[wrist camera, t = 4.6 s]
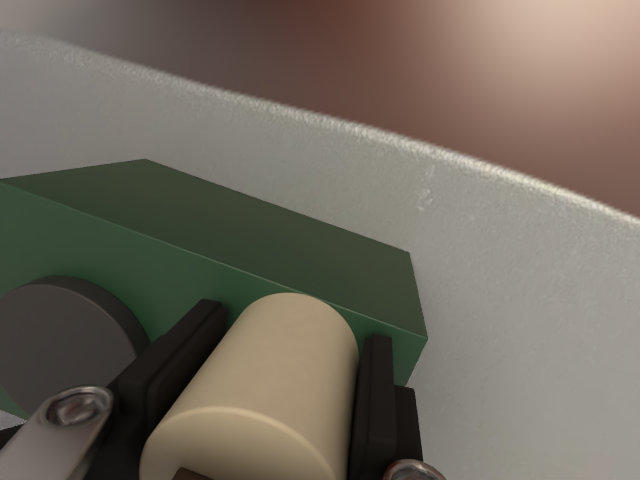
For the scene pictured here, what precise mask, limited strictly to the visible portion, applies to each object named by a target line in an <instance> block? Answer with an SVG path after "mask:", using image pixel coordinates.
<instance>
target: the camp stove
mask: <svg viewBox="0 0 640 480" xmlns="http://www.w3.org/2000/svg"><path fill="white" fill-rule="evenodd" d="M277 293H298V294H304V295H308V296H311V297H314V298H316V299H318V300H321V301H322V302H324V303H326V304H328V305H329V306H330V307H332V308H333V309H334V310H336V311H337V312H338V313H339V314H340V315H341V316H342V317H343V319H344V320H345V321H346V322H347V323H348V325H349V327H350V328H351V330H352V332H353V334H354V336H355V339H356V343H357V346H358V368H359V363H360V358H361V353H362V348H363V343H364V338H365V337H370V338H372V335H373V333H376V334H380V335H385V336H390V337H392V349H393V370H394V384H395V385H400V386H404V387H405V386H406V384H407V382H408V379H409V377H410V375H411V373H412V371H413V369H414V367H415V365H416V363H417V361H418V359H419V357H420V354H421V352H422V350H423V348H424V346H425V344H426V342H427V340H428V336H427V331H426V327H425V322H424V317H423V313H422V308H421V304H420V299H419V295H418V290H417V286H416V281H415V277H414V272H413V267H412V263H411V258H410V254H409V252H406V251H404V250H401V249H398V248H395V247H392V246H389V245H387V244H384V243H381V242H378V241H375V240H373V239H370V238H367V237H364V236H361V235H358V234H356V233H353V232H350V231H347V230H344V229H341V228H339V227H336V226H333V225H330V224H327V223H325V222H322V221H319V220H316V219H313V218H310V217H308V216H305V215H302V214H299V213H296V212H294V211H291V210H288V209H285V208H282V207H279V206H277V205H274V204H271V203H268V202H265V201H263V200H260V199H257V198H254V197H251V196H248V195H246V194H243V193H240V192H237V191H234V190H231V189H229V188H226V187H223V186H220V185H217V184H215V183H212V182H209V181H206V180H203V179H200V178H198V177H195V176H192V175H189V174H186V173H184V172H181V171H178V170H175V169H172V168H169V167H167V166H164V165H161V164H158V163H155V162H153V161H150V160H147V159H140V160H133V161H126V162H119V163H111V164H104V165H97V166H90V167H83V168H76V169H68V170H61V171H54V172H47V173H40V174H33V175H25V176H18V177H11V178H4V179H0V410H3V411H5V412H8V413H10V414H13V415H15V416H18V417H20V418H23V419H25V420H28V419H29V418H30V417H31V416H32V415H33V413H34V412H35V411H36V410H37V409H38V408H39V407H40V406H41V404H42V403H43V402H45V401H46V400H47V399H48V398H49V397H50V396H52V395H54V394H56V393H57V392H59V391H61V390H64V389H67V388H69V387H73V386H78V385H83V384H95V385H100V386H104V387H106V386H107V385H108V384H109V383H110V382H111V381H112V380H114V379H115V378H116V377H117V376H118V375H119V374H120V373H121V372H122V371H123V370H124V369H125V368H126V367H127V366H128V365H129V364H130V363H131V362H133V361H134V360H135V359H136V358H137V357H138V356H139V355H140V354H141V353H142V352H143V351H144V350H145V349H146V348H147V347H148V346H149V345H150V344H152V343H153V342H154V341H155V340H156V339H157V338H158V337H159V336H161V335H165V334H166V333H167V332H168V331H169V330H170V329H171V328H172V327H173V326H174V325H175V324H176V323H177V322H178V321H179V320H180V319H181V318H182V317H183V316H184V315H185V314H186V313H187V312H188V311H190V310H191V309H192V308H193V307H194V306H195V305H196V304H197V303H198V302H199V301H200V300H201V299H203V298H204V299H209V300H214V301H219V302H221V303H222V307H224V308H227V323H226V333H227V332H228V331H229V329H230V328H231V327H232V325H233V324H234V322H235V321H236V320H237V318H238V317H239V316H240V315H241V313H242V312H243V311H244V310H245V309H246V308H247V307H248V306H249V305H250V304H252V303H253V302H255V301H257V300H258V299H260V298H263V297H265V296H268V295H272V294H277ZM357 373H358V370H357Z"/></svg>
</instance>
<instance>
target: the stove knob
mask: <svg viewBox="0 0 640 480" xmlns="http://www.w3.org/2000/svg"><path fill="white" fill-rule="evenodd" d="M357 370H358V346H357V343H356V339H355V336H354V334H353V332H352V330H351V328H350V327H349V325H348V323H347V322H346V321H345V320H344V319H343V317H342V316H341V315H340V314H339V313H338V312H337V311H336V310H334V309H333V308H332V307H330V306H329V305H328V304H326V303H324V302H322V301H321V300H318V299H316V298H314V297H311V296H308V295H304V294H298V293H277V294H272V295H268V296H265V297H263V298H260V299H258V300H257V301H255V302H253V303H252V304H250V305H249V306H248V307H247V308H246V309H245V310H244V311H243V312H242V313H241V315H240V316H239V317H238V318H237V320H236V321H235V322H234V324H233V325H232V327H231V328H230V329H229V331H228V332H227V333H226V335H225V336H224V337H223V339H222V340H221V341H220V343H219V344H218V345H217V347H216V348H215V349H214V351H213V352H212V353H211V355H210V356H209V357H208V359H207V360H206V361H205V363H204V364H203V365H202V367H201V368H200V369H199V371H198V372H197V373H196V375H195V376H194V377H193V379H192V380H191V381H190V383H189V384H188V385H187V387H186V388H185V389H184V391H183V392H182V393H181V395H180V396H179V397H178V399H177V400H176V401H175V403H174V404H173V405H172V407H171V408H170V410H169V411H168V412H167V414H166V415H165V416H164V418H163V419H162V420H161V422H160V423H159V424H158V426H157V427H156V428H155V430H154V431H153V432H152V434H151V435H150V436H149V438H148V440H147V442H146V444H145V446H144V448H143V451H142V455H141V459H140V466H139V480H347V473H348V462H349V452H350V442H351V432H352V421H353V411H354V401H355V391H356V381H357Z"/></svg>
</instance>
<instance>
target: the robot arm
mask: <svg viewBox="0 0 640 480" xmlns="http://www.w3.org/2000/svg"><path fill="white" fill-rule="evenodd" d="M226 323H227V308H224V307H222V303H221V302H219V301H214V300H209V299H204V298H203V299H201V300H200V301H199V302H198V303H197V304H196V305H195V306H194V307H193V308H192V309H191V310H190V311H188V312H187V313H186V314H185V315H184V316H183V317H182V318H181V319H180V320H179V321H178V322H177V323H176V324H175V325H174V326H173V327H172V328H171V329H170V330H169V331H168V332H167V333H166V334H165V335H161V336H159V337H158V338H157V339H156V340H155V341H154V342H153V343H152V344H150V345H149V346H148V347H147V348H146V349H145V350H144V351H143V352H142V353H141V354H140V355H139V356H138V357H137V358H136V359H135V360H134V361H133V362H131V363H130V364H129V365H128V366H127V367H126V368H125V369H124V370H123V371H122V372H121V373H120V374H119V375H118V376H117V377H116V378H115V379H114V380H112V381H111V382H110V383H109V384H108V385H107V386H106V387H104V386H100V385H95V384H83V385H78V386H73V387H69V388H67V389H64V390H61V391H59V392H57V393H56V394H54V395H52V396H50V397H49V398H48V399H47V400H46V401H45V402H43V403H42V404H41V406H40V407H39V408H38V409H37V410H36V411H35V412H34V413H33V415H32V416H31V417H30V418H29V419H28V420H27V421H26V422H25V423H24V424H21V425H18V426H14V427H11V428H7V429H4V430H0V480H139V466H140V459H141V455H142V451H143V448H144V446H145V444H146V442H147V440H148V438H149V436H150V435H151V434H152V432H153V431H154V430H155V428H156V427H157V426H158V424H159V423H160V422H161V420H162V419H163V418H164V416H165V415H166V414H167V412H168V411H169V410H170V408H171V407H172V405H173V404H174V403H175V401H176V400H177V399H178V397H179V396H180V395H181V393H182V392H183V391H184V389H185V388H186V387H187V385H188V384H189V383H190V381H191V380H192V379H193V377H194V376H195V375H196V373H197V372H198V371H199V369H200V368H201V367H202V365H203V364H204V363H205V361H206V360H207V359H208V357H209V356H210V355H211V353H212V352H213V351H214V349H215V348H216V347H217V345H218V344H219V343H220V341H221V340H222V339H223V337H224V336H225V335H226ZM347 480H446V478H445V477H444V476H443V475H442V474H441V473H440V472H438V471H437V470H436V469H435V468H434V467H432V466H430V465H428V464H426V463H424V462H423V455H422V447H421V439H420V431H419V423H418V414H417V406H416V398H415V392H414V389H413V388H409V387H404V386H400V385H395V384H394V370H393V349H392V337H390V336H385V335H380V334H376V333H373V335H372V338H370V337H365V338H364V343H363V348H362V353H361V358H360V363H359V368H358V373H357V381H356V391H355V401H354V411H353V421H352V432H351V442H350V452H349V462H348V473H347Z"/></svg>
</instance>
